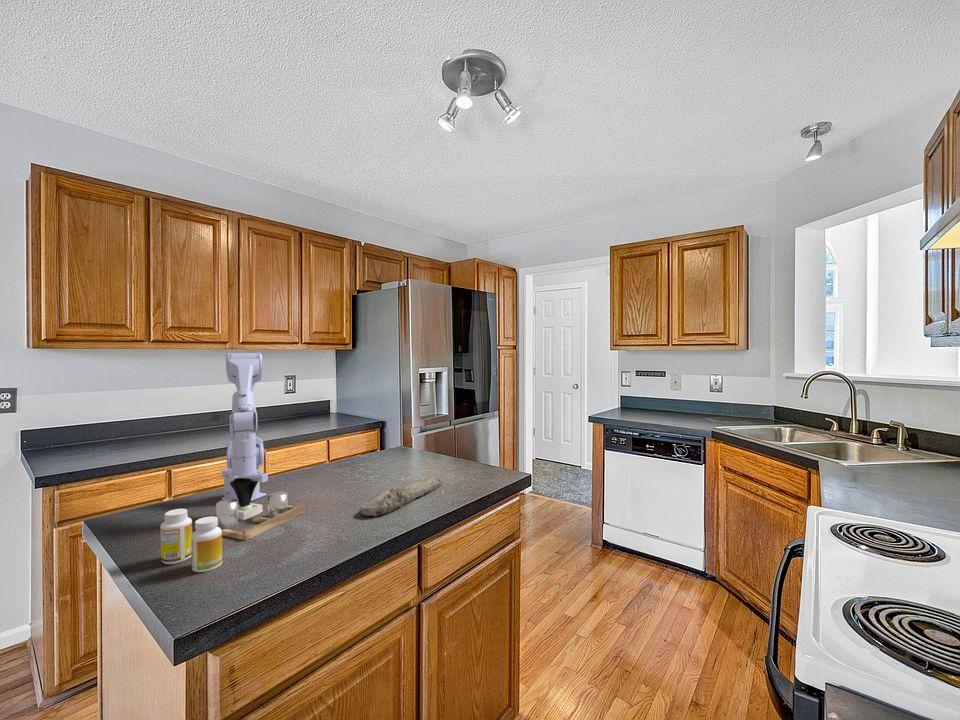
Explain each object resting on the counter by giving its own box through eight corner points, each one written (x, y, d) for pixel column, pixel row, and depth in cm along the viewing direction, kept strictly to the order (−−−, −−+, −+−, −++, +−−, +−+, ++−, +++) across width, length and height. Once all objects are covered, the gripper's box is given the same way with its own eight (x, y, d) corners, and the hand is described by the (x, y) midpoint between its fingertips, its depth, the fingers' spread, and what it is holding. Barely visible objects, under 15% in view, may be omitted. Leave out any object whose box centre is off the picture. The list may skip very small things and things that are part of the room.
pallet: (221, 535, 106) (221, 527, 106) (282, 508, 124) (282, 501, 124) (246, 540, 103) (245, 532, 103) (304, 512, 121) (304, 505, 121)
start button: (234, 514, 118) (234, 506, 118) (245, 509, 122) (245, 502, 122) (244, 516, 117) (244, 508, 117) (255, 511, 120) (255, 504, 120)
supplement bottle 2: (228, 562, 92) (227, 516, 92) (205, 575, 87) (204, 526, 87) (209, 558, 94) (208, 513, 94) (185, 570, 89) (184, 523, 89)
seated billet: (263, 518, 116) (263, 496, 116) (278, 512, 121) (277, 490, 121) (277, 521, 115) (277, 498, 115) (291, 514, 119) (291, 492, 119)
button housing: (227, 517, 118) (227, 509, 118) (246, 509, 123) (246, 502, 123) (243, 520, 115) (243, 512, 115) (262, 512, 121) (262, 504, 121)
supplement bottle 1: (187, 550, 98) (186, 505, 98) (196, 558, 94) (195, 511, 94) (157, 560, 94) (156, 512, 93) (165, 568, 90) (164, 518, 90)
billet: (212, 527, 111) (211, 504, 111) (229, 520, 115) (228, 497, 115) (226, 530, 109) (225, 506, 109) (242, 523, 113) (242, 500, 113)
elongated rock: (450, 489, 145) (425, 487, 150) (450, 473, 145) (425, 471, 150) (380, 520, 114) (351, 516, 119) (379, 499, 114) (350, 496, 119)
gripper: (211, 456, 118) (212, 507, 118) (252, 461, 113) (252, 514, 113) (234, 451, 124) (235, 498, 125) (273, 455, 119) (274, 505, 119)
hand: (245, 505), depth 119 cm, fingers closed, pressing on start button
